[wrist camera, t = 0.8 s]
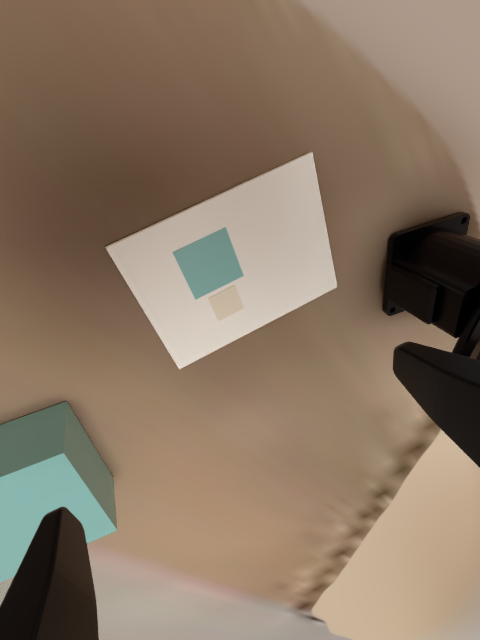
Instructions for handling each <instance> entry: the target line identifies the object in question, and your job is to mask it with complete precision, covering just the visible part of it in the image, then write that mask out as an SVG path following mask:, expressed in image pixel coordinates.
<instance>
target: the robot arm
mask: <svg viewBox="0 0 480 640" xmlns="http://www.w3.org/2000/svg"><path fill="white" fill-rule="evenodd" d="M469 219H470V216H469V214H468V213H464V212H460V213H457V214H454V215H450V216H447V217H444V218H441V219H438V220H435V221H432V222H428V223H425V224H422V225H419V226H416V227H413V228H409V229H406V230H403V231H400V232H397V233H395V234H393V235H392V236H391V238H390V241H389V250H388V262H387V274H386V285H385V297H384V309H383V310H384V313H386V314H387V315H389V316H392V315H395V314H397V313H400V312H403V311H405V310H406V311H407V312H409V313H410V314H412V315H413V316H415V317H417V318H418V319H420V320H421V321H423V322H425V323H426V324H433V325H435V326H437V327H438V328H440V329H441V330H443V331H445V332H446V333H448V334H449V335H451V336H453V337H454V338H458V337H459V339H458V341H457V343H456V345H455V347H454V349H453V351H452V353H451V352H447V351H443V350H439V349H436V348H432V347H428V346H424V345H421V344H417V343H413V342H405V343H403V344H401V345H399V346H397V347H395V349H394V356H393V371H394V374H395V375H396V377H397V378H398V379H399V381H400V382H401V383H402V384H403V386H404V387H405V388H406V389H407V390H408V392H409V393H410V394H411V395H412V396H413V398H414V399H415V400H416V401H417V403H418V404H419V405H420V406H421V407H422V409H423V410H424V411H425V412H426V413H427V415H428V416H429V417H430V418H431V419H432V420H433V421H434V422H435V423H436V424H437V425H438V426H439V427H440V428H441V429H442V430H443V431H444V432H445V433H446V434H447V435H448V436H449V437H450V438H451V439H452V440H453V441H454V442H455V443H456V444H457V445H458V446H459V447H460V448H461V449H462V450H463V451H464V452H465V453H466V454H467V455H468V456H469V457H470V458H471V459H472V460H473V461H474V462H475V463H476V464H477V465H478V466H479V467H480V240H479V239H476V238H473V237H470V236H467V235H466V234H467V229H468V224H469ZM397 240H398V241H397ZM0 640H99V638H98V620H97V606H96V597H95V590H94V584H93V578H92V572H91V567H90V561H89V555H88V549H87V543H86V537H85V531H84V528H83V525H82V524H81V522H80V521H79V520H78V519H77V518H76V517H75V516H74V515H73V514H72V513H71V512H70V511H69V510H68V509H67V508H66V507H59V508H57V509H55V510H53V511H51V512H49V513H47V514H46V515H45V516H44V517H43V518H42V520H41V522H40V524H39V526H38V529H37V531H36V533H35V535H34V537H33V539H32V541H31V543H30V545H29V547H28V549H27V552H26V554H25V556H24V558H23V560H22V562H21V564H20V566H19V568H18V570H17V572H16V575H15V577H14V579H13V581H12V583H11V585H10V587H9V589H8V591H7V593H6V595H5V598H4V600H3V602H2V604H1V606H0Z"/></svg>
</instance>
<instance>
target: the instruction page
mask: <svg viewBox="0 0 480 640" xmlns="http://www.w3.org/2000/svg"><path fill="white" fill-rule="evenodd" d="M105 248H106V250H107V251H108V253H109V255H110V256H111V258H112V260H113V261H114V263H115V265H116V266H117V268H118V270H119V271H120V273H121V274H122V276H123V278H124V279H125V281H126V283H127V284H128V286H129V288H130V289H131V291H132V293H133V294H134V296H135V297H136V299H137V301H138V302H139V304H140V306H141V307H142V309H143V311H144V312H145V314H146V316H147V317H148V319H149V320H150V322H151V324H152V325H153V327H154V329H155V330H156V332H157V334H158V335H159V337H160V339H161V340H162V342H163V343H164V345H165V347H166V348H167V350H168V352H169V353H170V355H171V357H172V358H173V360H174V362H175V363H176V365H177V366H178V368H179V369H181V368H183V367H185V366H187V365H189V364H190V363H192V362H194V361H196V360H198V359H200V358H202V357H204V356H206V355H208V354H210V353H212V352H214V351H215V350H217V349H219V348H221V347H223V346H225V345H227V344H229V343H231V342H233V341H235V340H237V339H239V338H240V337H242V336H244V335H246V334H248V333H250V332H252V331H254V330H256V329H258V328H260V327H262V326H264V325H265V324H267V323H269V322H271V321H273V320H275V319H277V318H279V317H281V316H283V315H285V314H287V313H289V312H290V311H292V310H294V309H296V308H298V307H300V306H302V305H304V304H306V303H308V302H310V301H312V300H313V299H315V298H317V297H319V296H321V295H323V294H325V293H327V292H329V291H331V290H333V289H335V288H337V282H336V277H335V271H334V266H333V261H332V255H331V250H330V244H329V239H328V234H327V228H326V223H325V218H324V212H323V207H322V201H321V196H320V191H319V185H318V180H317V174H316V169H315V164H314V158H313V153H312V152H309V153H307V154H305V155H302V156H300V157H298V158H296V159H294V160H292V161H289V162H287V163H285V164H283V165H281V166H279V167H277V168H274V169H272V170H270V171H268V172H266V173H264V174H261V175H259V176H257V177H255V178H253V179H251V180H248V181H246V182H244V183H242V184H240V185H238V186H235V187H233V188H231V189H229V190H227V191H225V192H223V193H220V194H218V195H216V196H214V197H212V198H210V199H207V200H205V201H203V202H201V203H199V204H197V205H194V206H192V207H190V208H188V209H186V210H184V211H181V212H179V213H177V214H175V215H173V216H171V217H169V218H166V219H164V220H162V221H160V222H158V223H156V224H153V225H151V226H149V227H147V228H145V229H143V230H140V231H138V232H136V233H134V234H132V235H130V236H127V237H125V238H123V239H121V240H119V241H117V242H115V243H112V244H110V245H108V246H106V247H105Z"/></svg>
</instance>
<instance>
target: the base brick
mask: <svg viewBox="0 0 480 640" xmlns="http://www.w3.org/2000/svg"><path fill="white" fill-rule="evenodd" d="M59 507H66V508H67V509H68V510H69V511H70V512H71V513H72V514H73V515H74V516H75V517H76V518H77V519H78V520H79V521H80V522H81V524H82V525H83V528H84V531H85V537H86V543H90V542H92V541H94V540H96V539H99V538H101V537H103V536H105V535H108V534H110V533H112V532H114V531H117V521H116V508H115V495H114V482H113V477H112V475H111V473H110V472H109V470H108V468H107V467H106V465H105V463H104V462H103V460H102V458H101V457H100V455H99V453H98V452H97V450H96V449H95V447H94V445H93V444H92V442H91V440H90V439H89V437H88V435H87V434H86V432H85V430H84V429H83V427H82V425H81V424H80V422H79V420H78V419H77V417H76V416H75V414H74V412H73V411H72V409H71V407H70V406H69V404H68V402H67V401H66V402H63V403H60V404H57V405H54V406H52V407H49V408H46V409H43V410H40V411H38V412H35V413H32V414H29V415H26V416H23V417H21V418H18V419H15V420H12V421H9V422H7V423H4V424H1V425H0V582H2V581H4V580H7V579H9V578H11V577H13V576H15V575H16V572H17V570H18V568H19V566H20V564H21V562H22V560H23V558H24V556H25V554H26V552H27V549H28V547H29V545H30V543H31V541H32V539H33V537H34V535H35V533H36V531H37V529H38V526H39V524H40V522H41V520H42V518H43V517H44V516H45V515H46V514H47V513H49V512H51V511H53V510H55V509H57V508H59Z"/></svg>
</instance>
